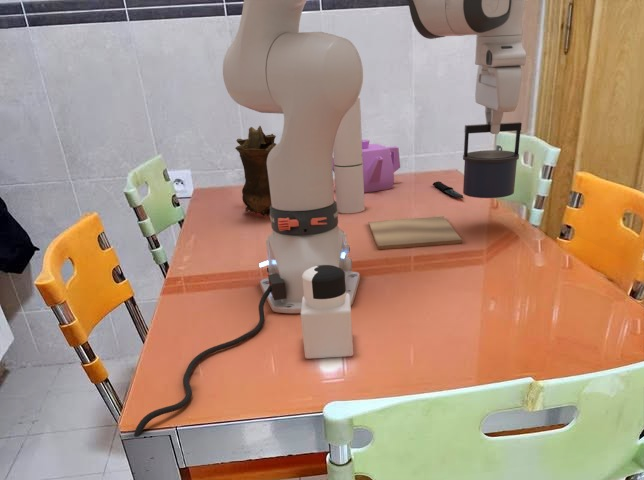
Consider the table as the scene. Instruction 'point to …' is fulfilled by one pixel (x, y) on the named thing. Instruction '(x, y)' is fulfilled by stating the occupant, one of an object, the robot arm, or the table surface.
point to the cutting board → (413, 232)
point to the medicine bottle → (326, 313)
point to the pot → (490, 165)
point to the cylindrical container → (349, 162)
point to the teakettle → (378, 166)
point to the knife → (447, 189)
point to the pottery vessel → (256, 170)
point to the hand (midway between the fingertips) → (492, 132)
